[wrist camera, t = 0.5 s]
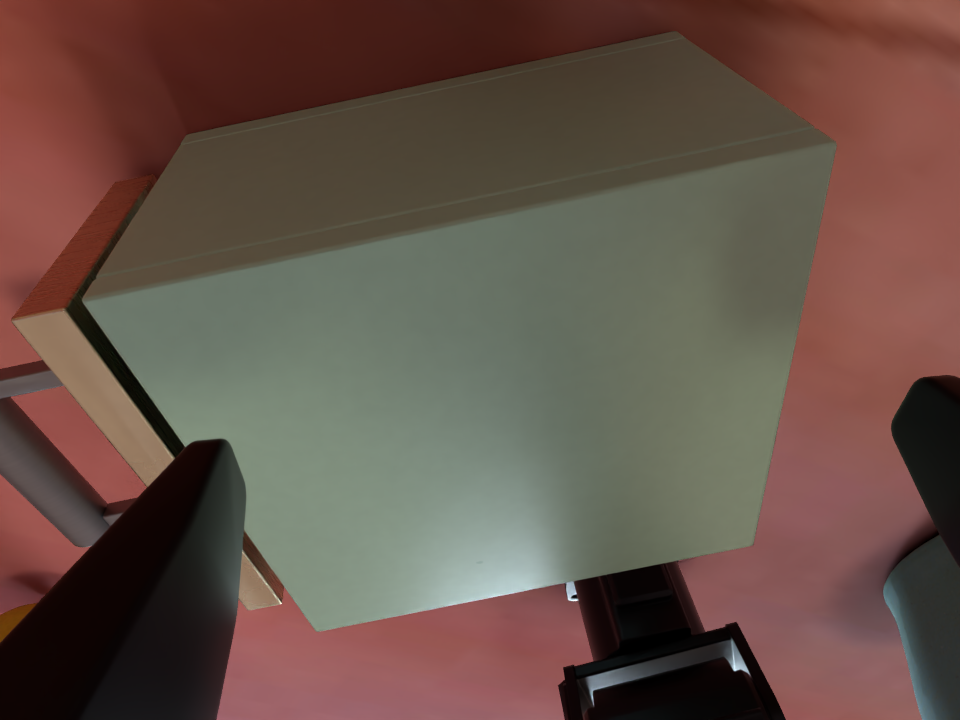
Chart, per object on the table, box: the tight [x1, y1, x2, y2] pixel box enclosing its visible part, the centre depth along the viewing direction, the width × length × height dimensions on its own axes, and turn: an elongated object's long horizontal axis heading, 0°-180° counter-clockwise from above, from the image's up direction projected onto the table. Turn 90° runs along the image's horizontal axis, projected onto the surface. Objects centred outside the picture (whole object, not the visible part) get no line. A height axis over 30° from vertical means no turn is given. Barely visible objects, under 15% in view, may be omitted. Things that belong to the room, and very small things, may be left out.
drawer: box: [0, 175, 284, 610], centre depth 20 cm, size 19×12×7 cm, turn 99°
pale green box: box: [82, 31, 837, 632], centre depth 20 cm, size 15×14×9 cm
